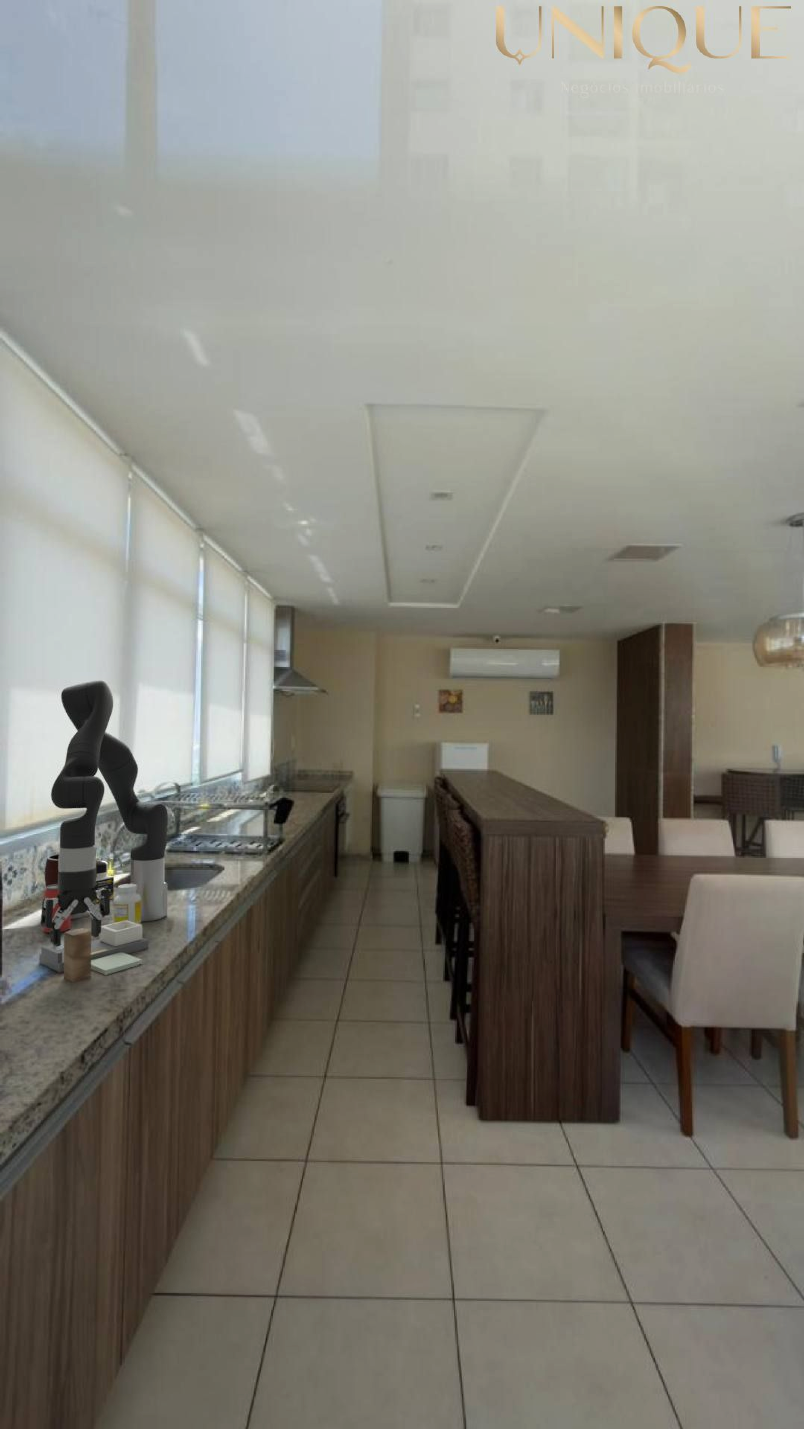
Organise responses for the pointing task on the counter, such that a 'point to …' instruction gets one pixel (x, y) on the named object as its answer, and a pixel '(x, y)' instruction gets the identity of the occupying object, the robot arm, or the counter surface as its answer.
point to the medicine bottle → (104, 879)
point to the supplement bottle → (127, 904)
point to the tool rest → (114, 963)
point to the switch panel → (98, 950)
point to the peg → (77, 954)
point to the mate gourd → (52, 877)
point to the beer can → (56, 907)
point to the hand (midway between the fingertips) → (76, 940)
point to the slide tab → (121, 933)
